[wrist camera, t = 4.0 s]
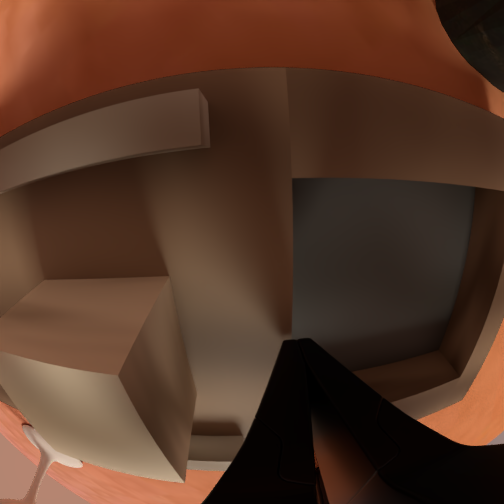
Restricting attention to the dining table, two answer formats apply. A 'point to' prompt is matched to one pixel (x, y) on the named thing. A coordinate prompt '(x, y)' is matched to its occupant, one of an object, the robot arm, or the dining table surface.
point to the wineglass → (41, 464)
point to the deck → (274, 227)
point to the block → (103, 372)
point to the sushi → (477, 34)
